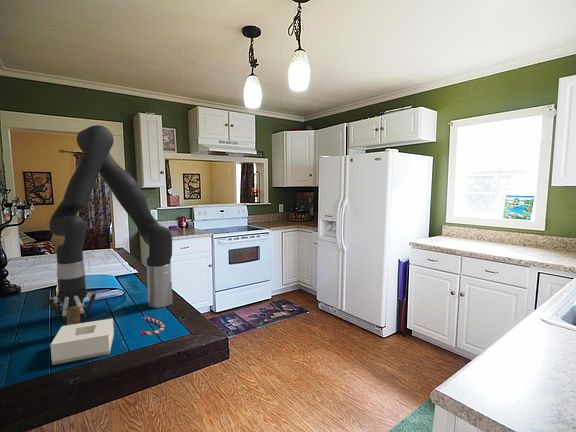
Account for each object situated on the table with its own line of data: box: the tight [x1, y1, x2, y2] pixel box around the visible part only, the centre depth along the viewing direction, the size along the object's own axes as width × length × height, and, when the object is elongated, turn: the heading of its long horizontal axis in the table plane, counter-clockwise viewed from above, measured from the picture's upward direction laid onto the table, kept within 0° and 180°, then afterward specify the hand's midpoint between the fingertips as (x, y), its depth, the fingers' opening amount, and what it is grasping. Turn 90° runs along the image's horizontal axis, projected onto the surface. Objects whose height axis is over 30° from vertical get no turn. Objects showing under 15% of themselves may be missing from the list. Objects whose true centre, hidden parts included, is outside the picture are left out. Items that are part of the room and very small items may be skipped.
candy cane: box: [141, 316, 165, 336], centre depth 110 cm, size 8×1×15 cm
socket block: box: [50, 318, 115, 366], centre depth 94 cm, size 14×12×6 cm
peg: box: [66, 305, 80, 325], centre depth 104 cm, size 4×4×10 cm
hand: (75, 324), depth 104 cm, fingers closed on peg, 3 cm apart
